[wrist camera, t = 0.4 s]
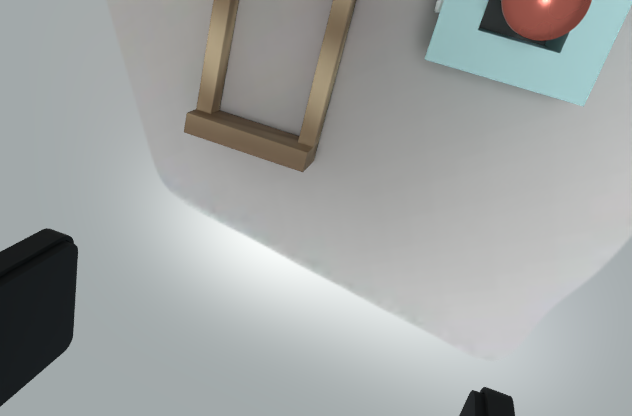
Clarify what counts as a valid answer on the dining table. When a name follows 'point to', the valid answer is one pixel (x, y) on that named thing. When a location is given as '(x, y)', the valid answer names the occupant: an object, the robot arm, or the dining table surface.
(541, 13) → the button
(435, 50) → the teal button box
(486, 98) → the dining table surface
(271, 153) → the oak rail
